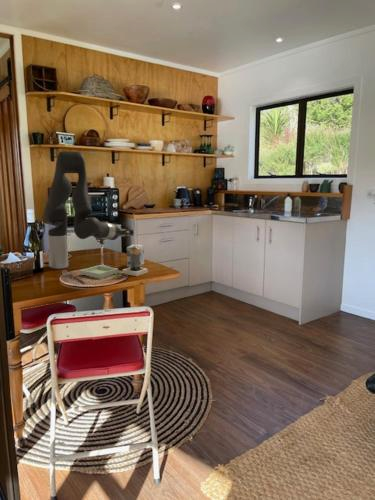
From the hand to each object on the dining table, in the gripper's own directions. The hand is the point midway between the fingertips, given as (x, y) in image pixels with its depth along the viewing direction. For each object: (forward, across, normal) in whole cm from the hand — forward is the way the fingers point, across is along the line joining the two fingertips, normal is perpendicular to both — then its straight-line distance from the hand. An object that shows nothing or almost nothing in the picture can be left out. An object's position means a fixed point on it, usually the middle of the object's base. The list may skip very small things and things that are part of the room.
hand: (124, 233), depth 184 cm
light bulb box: (+24, +6, +16) cm, 29 cm away
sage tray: (0, +14, +20) cm, 24 cm away
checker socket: (+8, -2, +19) cm, 21 cm away
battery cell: (+8, -2, +19) cm, 21 cm away
